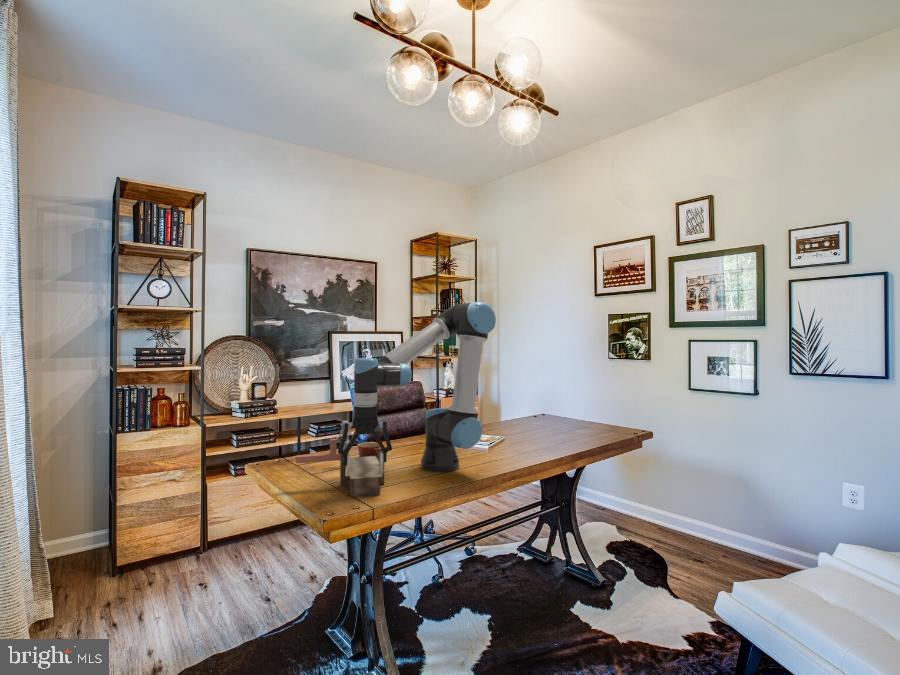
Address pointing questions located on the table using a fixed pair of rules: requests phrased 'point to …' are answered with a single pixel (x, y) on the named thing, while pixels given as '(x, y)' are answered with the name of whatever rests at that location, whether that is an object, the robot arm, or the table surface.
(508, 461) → the table surface
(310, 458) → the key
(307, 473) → the table surface
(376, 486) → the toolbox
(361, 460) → the lid
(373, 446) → the mug
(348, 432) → the human figurine
